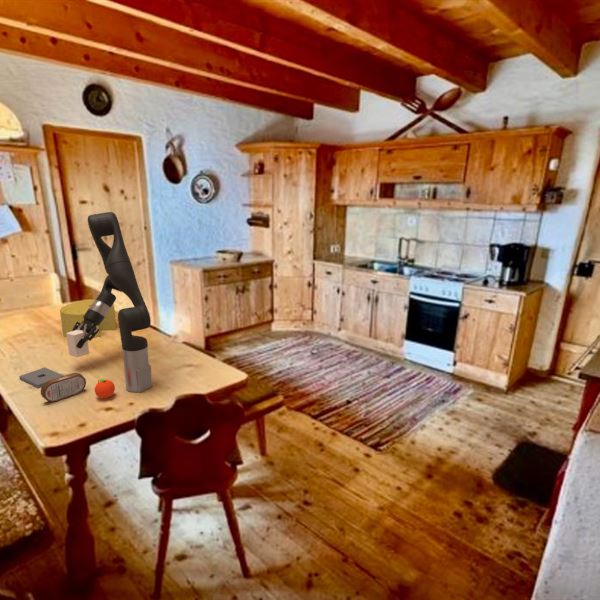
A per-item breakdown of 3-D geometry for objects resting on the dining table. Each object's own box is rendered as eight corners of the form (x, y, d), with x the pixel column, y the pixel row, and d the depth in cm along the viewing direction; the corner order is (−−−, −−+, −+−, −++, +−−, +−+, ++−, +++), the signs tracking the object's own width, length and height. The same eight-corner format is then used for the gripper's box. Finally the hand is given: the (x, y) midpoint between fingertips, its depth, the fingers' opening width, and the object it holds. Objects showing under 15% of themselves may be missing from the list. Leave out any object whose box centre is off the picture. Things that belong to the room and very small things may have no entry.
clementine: (90, 397, 149) (88, 380, 147) (107, 390, 154) (105, 373, 152) (102, 403, 145) (100, 386, 143) (119, 396, 150) (117, 379, 148)
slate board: (64, 378, 162) (63, 375, 162) (38, 388, 154) (38, 385, 153) (45, 370, 169) (44, 367, 168) (19, 379, 160) (19, 376, 160)
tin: (84, 388, 155) (82, 369, 153) (88, 391, 153) (85, 371, 151) (41, 403, 144) (38, 382, 142) (45, 406, 142) (41, 385, 140)
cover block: (89, 353, 170) (86, 331, 168) (76, 357, 166) (73, 335, 163) (81, 350, 173) (78, 329, 170) (69, 354, 168) (66, 332, 166)
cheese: (118, 335, 212) (116, 308, 208) (62, 342, 200) (58, 314, 196) (114, 321, 234) (111, 297, 230) (63, 327, 221) (60, 301, 217)
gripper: (80, 305, 174) (57, 339, 167) (100, 310, 167) (77, 345, 160) (93, 314, 180) (71, 346, 173) (113, 319, 173) (90, 353, 166)
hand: (74, 346), depth 167 cm, fingers closed on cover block, 5 cm apart
